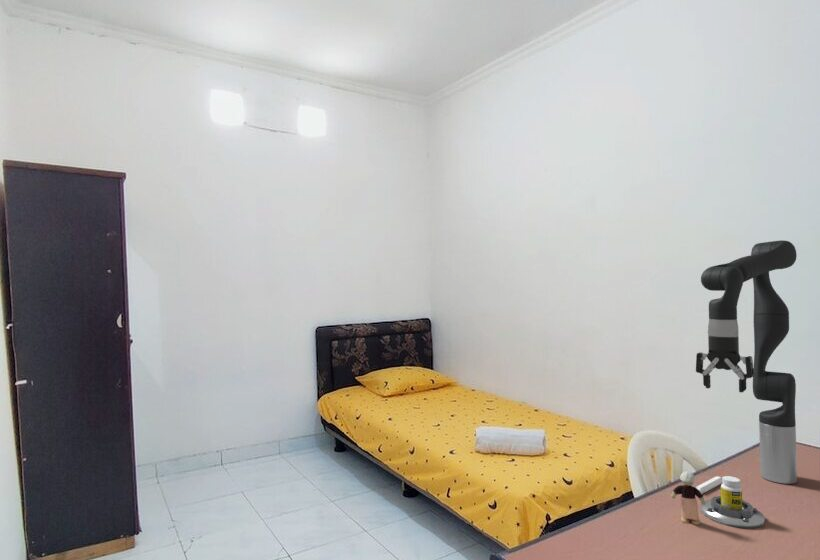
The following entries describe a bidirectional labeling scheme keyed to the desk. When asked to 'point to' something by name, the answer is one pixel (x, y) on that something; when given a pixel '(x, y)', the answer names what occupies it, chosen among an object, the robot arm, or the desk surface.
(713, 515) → the hub plate
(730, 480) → the supplement bottle
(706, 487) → the white pencil
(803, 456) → the desk surface
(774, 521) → the desk surface
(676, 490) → the grandmother figurine
